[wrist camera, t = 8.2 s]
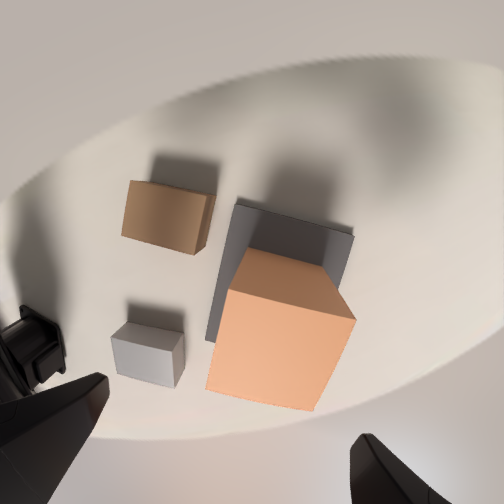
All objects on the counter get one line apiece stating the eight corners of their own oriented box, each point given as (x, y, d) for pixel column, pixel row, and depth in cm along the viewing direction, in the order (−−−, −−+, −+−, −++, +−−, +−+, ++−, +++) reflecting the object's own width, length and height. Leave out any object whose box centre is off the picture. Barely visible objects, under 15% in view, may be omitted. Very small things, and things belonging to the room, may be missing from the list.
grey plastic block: (132, 355, 21) (117, 373, 18) (128, 320, 20) (110, 337, 18) (185, 367, 21) (174, 388, 18) (184, 331, 20) (171, 351, 17)
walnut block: (141, 229, 19) (121, 235, 16) (150, 181, 18) (130, 180, 15) (205, 246, 19) (193, 255, 16) (216, 195, 18) (206, 196, 15)
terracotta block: (230, 315, 19) (205, 389, 11) (247, 247, 18) (228, 288, 10) (299, 332, 19) (312, 411, 11) (322, 266, 18) (356, 320, 10)
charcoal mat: (206, 336, 20) (204, 339, 19) (235, 203, 18) (234, 204, 17) (308, 360, 20) (308, 364, 19) (352, 234, 18) (354, 236, 17)
